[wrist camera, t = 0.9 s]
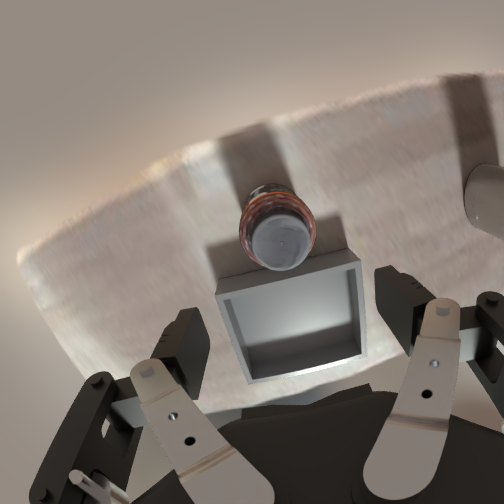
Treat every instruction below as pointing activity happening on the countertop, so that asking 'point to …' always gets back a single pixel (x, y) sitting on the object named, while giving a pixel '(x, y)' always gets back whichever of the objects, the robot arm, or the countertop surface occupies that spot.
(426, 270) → the countertop surface
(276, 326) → the bin
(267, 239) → the supplement bottle
